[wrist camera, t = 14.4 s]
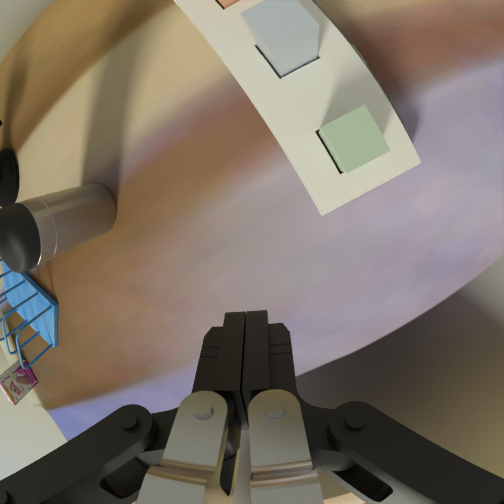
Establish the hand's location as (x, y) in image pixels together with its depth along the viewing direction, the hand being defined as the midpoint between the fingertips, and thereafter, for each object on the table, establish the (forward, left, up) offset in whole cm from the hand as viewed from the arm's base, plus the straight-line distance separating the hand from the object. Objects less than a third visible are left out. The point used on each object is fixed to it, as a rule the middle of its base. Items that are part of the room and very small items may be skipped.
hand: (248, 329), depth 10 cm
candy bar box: (-76, -81, -30) cm, 115 cm away
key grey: (-5, +19, -25) cm, 31 cm away
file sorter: (-60, -40, -30) cm, 79 cm away
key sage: (+4, +10, -28) cm, 30 cm away
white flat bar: (-5, +19, -30) cm, 36 cm away
